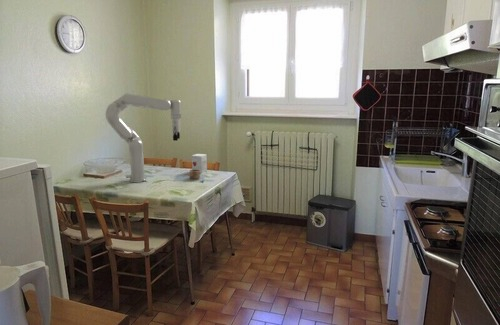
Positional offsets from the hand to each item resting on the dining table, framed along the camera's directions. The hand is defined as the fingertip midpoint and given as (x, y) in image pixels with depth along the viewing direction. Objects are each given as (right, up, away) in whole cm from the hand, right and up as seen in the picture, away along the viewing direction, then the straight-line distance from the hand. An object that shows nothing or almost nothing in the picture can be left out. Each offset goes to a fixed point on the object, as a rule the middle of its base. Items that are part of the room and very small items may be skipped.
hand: (176, 139), depth 264 cm
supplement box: (+15, -26, +19) cm, 35 cm away
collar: (+14, -29, -2) cm, 32 cm away
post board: (+10, -30, 0) cm, 32 cm away
